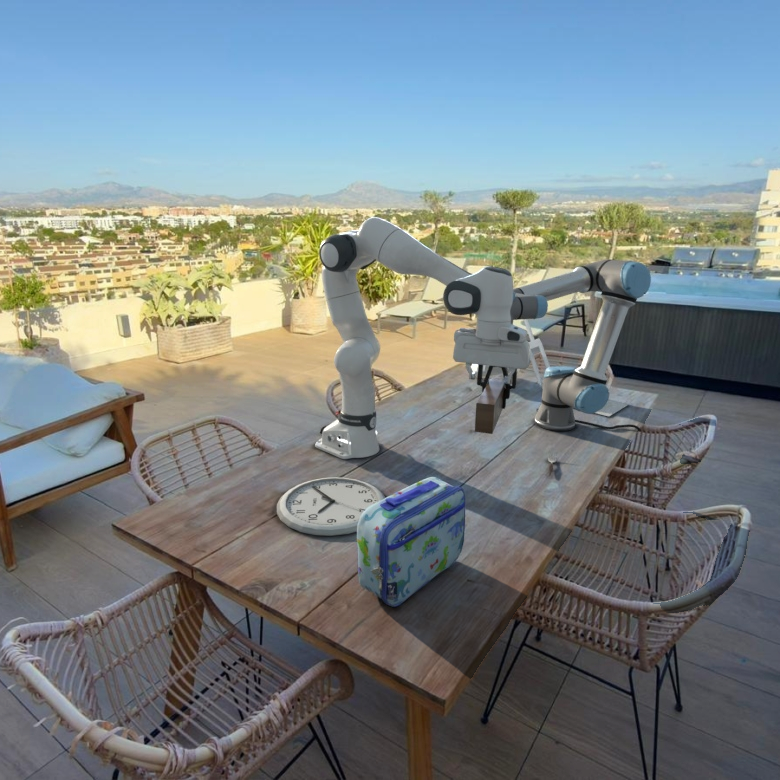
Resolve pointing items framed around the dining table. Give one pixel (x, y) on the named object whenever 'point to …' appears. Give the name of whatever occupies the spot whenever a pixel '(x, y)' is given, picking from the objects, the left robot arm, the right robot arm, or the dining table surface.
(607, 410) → the invitation card
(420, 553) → the lunch box
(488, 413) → the bar
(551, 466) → the fork
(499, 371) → the white plastic object
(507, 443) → the dining table surface
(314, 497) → the wall clock
